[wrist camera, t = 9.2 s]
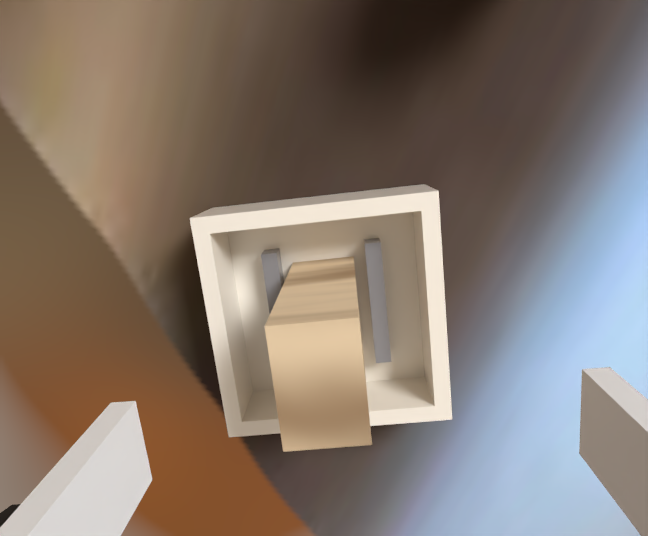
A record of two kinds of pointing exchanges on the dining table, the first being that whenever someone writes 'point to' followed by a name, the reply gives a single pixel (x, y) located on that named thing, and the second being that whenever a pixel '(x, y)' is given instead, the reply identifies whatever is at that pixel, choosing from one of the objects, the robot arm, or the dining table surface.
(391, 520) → the dining table surface
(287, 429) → the light wood block
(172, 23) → the dining table surface
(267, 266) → the white slotted box
